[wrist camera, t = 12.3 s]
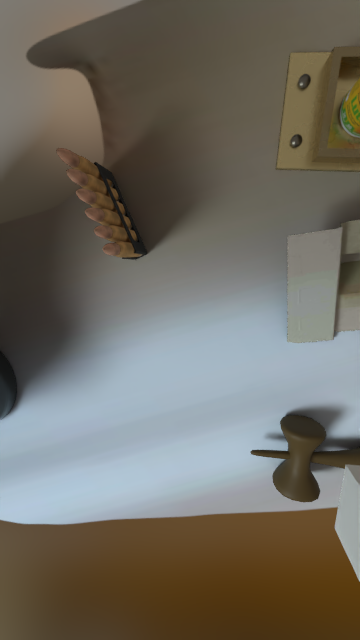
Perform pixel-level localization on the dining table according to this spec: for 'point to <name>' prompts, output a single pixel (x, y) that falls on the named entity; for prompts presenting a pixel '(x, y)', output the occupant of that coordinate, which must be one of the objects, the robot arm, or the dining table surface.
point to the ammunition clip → (104, 206)
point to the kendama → (304, 458)
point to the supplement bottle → (351, 111)
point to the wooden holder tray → (318, 112)
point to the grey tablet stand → (323, 283)
